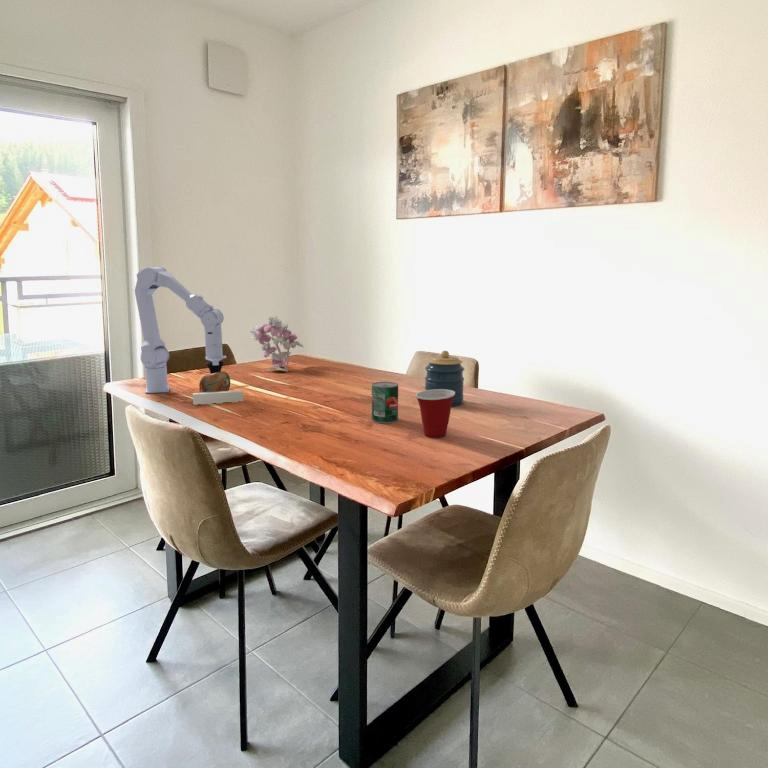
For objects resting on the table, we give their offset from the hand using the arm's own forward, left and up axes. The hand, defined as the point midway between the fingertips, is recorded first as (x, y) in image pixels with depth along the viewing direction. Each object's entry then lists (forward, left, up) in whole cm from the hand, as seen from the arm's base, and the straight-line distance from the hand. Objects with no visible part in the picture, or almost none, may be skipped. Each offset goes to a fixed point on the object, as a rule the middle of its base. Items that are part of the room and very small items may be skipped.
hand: (215, 382), depth 216 cm
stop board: (+15, 0, -4) cm, 16 cm away
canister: (+37, +72, -4) cm, 81 cm away
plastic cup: (+72, +54, -4) cm, 90 cm away
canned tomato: (+53, +46, -4) cm, 70 cm away
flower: (-43, +28, -4) cm, 51 cm away
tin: (+7, -1, -4) cm, 8 cm away
